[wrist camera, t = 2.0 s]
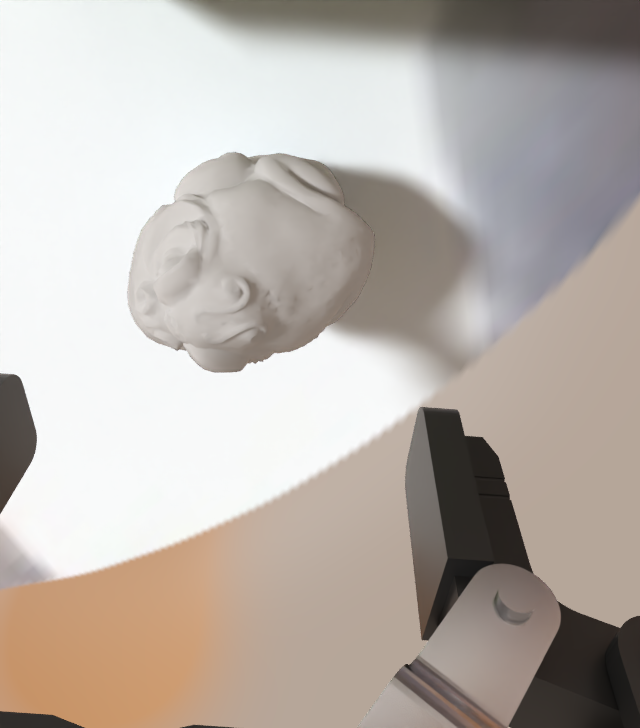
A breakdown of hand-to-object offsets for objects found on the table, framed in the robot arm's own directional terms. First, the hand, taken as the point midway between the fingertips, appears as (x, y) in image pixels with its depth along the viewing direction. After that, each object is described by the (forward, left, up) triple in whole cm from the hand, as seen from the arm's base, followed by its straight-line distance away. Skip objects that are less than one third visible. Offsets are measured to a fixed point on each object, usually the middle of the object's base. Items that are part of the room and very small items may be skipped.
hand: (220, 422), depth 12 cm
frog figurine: (0, 0, -11) cm, 11 cm away
